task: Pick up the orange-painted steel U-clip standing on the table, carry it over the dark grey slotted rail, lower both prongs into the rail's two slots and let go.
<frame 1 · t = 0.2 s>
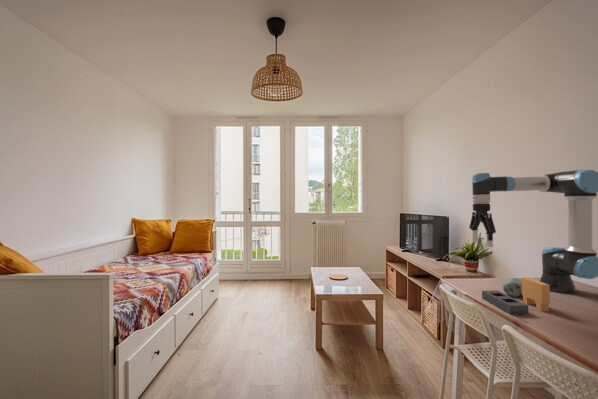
hand: (481, 244, 146), 28 cm above the table, fingers open, 13 cm apart
rail: (503, 305, 135), on the table
clip: (535, 306, 134), on the table
spool: (513, 294, 151), on the table
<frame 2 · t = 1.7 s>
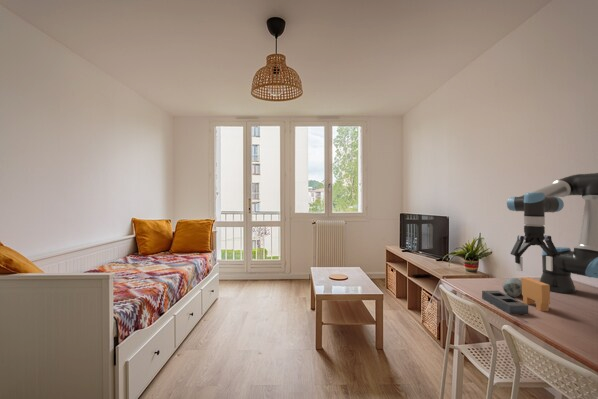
hand: (534, 270, 134), 17 cm above the table, fingers open, 13 cm apart
nothing on the table moved.
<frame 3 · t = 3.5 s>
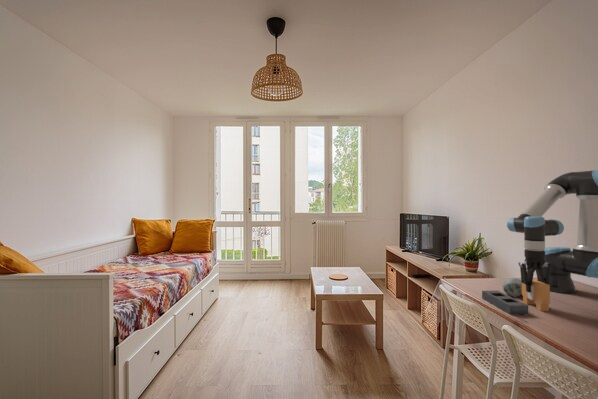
hand: (535, 298, 134), 4 cm above the table, fingers closed on clip, 3 cm apart
clip: (535, 306, 134), on the table, touching gripper
everything else where it was.
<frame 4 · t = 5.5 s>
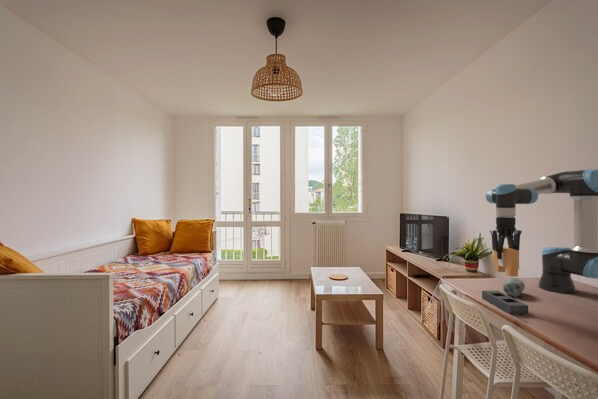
hand: (505, 265, 135), 19 cm above the table, fingers closed on clip, 3 cm apart
clip: (505, 273, 135), point 16 cm above the table, touching gripper
everything else where it was.
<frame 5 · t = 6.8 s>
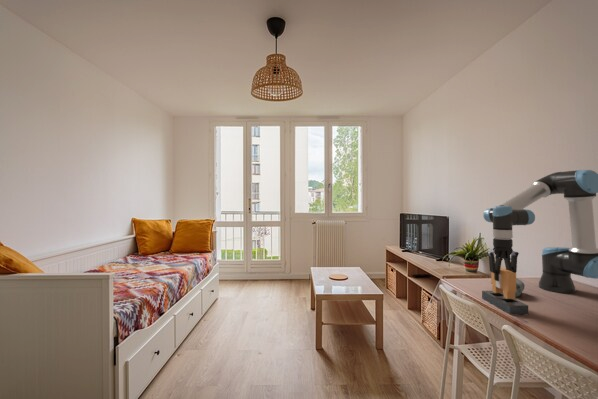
hand: (503, 287, 135), 9 cm above the table, fingers closed on clip, 3 cm apart
clip: (503, 294, 135), point 5 cm above the table, touching gripper
everything else where it was.
when the fingers open (5 cm above the table, at t = 7.7 s): clip drops 1 cm, resting on rail.
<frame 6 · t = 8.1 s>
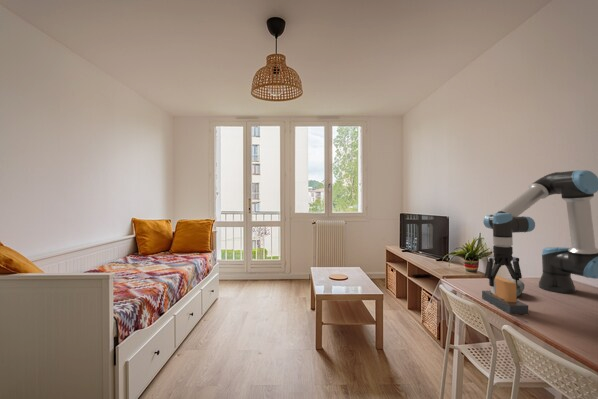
hand: (503, 293, 135), 6 cm above the table, fingers open, 8 cm apart
clip: (503, 304, 135), point 1 cm above the table, touching rail
everything else where it was.
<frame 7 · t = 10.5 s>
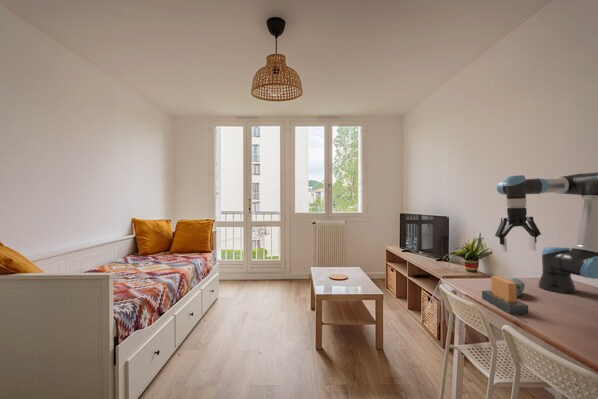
hand: (518, 250, 139), 26 cm above the table, fingers open, 13 cm apart
nothing on the table moved.
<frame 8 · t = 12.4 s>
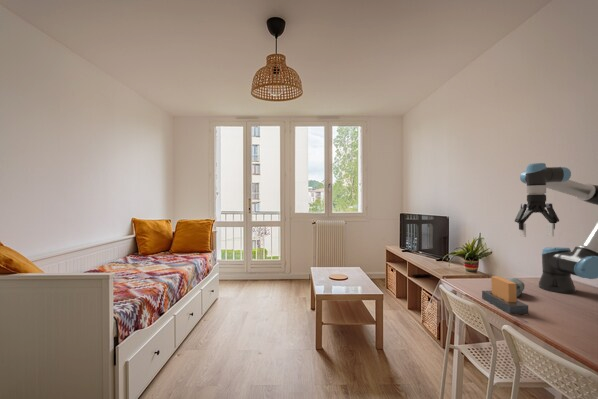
hand: (536, 236, 143), 32 cm above the table, fingers open, 13 cm apart
nothing on the table moved.
at the end: clip 0.0 cm off-centre on the rail, point 0.5 cm above the rail's base; clip tilted 0°; the gripper is holding nothing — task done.
